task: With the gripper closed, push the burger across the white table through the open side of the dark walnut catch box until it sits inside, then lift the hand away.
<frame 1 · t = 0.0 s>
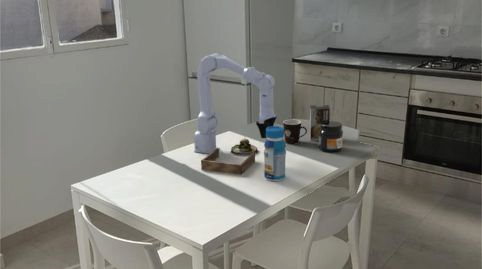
hand: (266, 135, 197), 10 cm above the table, tool pointing down, fingers open, 7 cm apart
coffee box: (319, 139, 222), on the table
supplement container: (330, 149, 208), on the table
catch box: (229, 164, 192), on the table
coffee mug: (293, 143, 217), on the table
beverage bottle: (274, 178, 178), on the table
burger: (244, 152, 208), on the table
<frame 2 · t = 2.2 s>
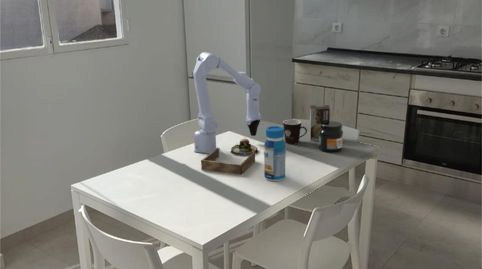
hand: (253, 135, 217), 4 cm above the table, tool pointing down, fingers closed
nothing on the table moved.
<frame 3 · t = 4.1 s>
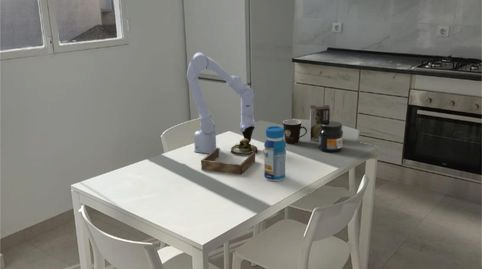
hand: (247, 142, 210), 3 cm above the table, tool pointing down, fingers closed
burger: (244, 152, 207), on the table, touching gripper
everything else where it was.
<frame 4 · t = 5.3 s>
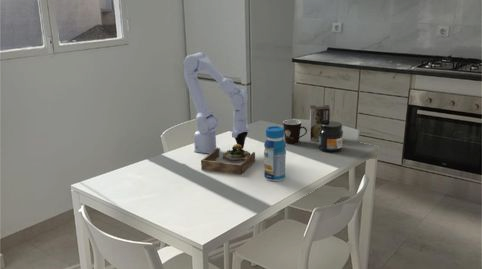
hand: (240, 148, 203), 3 cm above the table, tool pointing down, fingers closed
burger: (237, 158, 200), on the table, touching gripper
everything else where it was.
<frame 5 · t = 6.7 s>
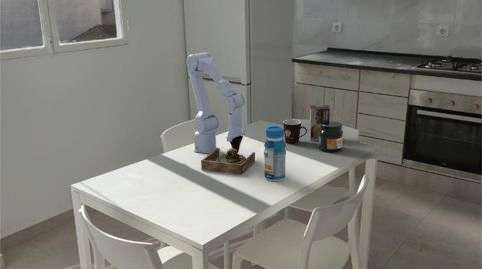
hand: (235, 152, 198), 3 cm above the table, tool pointing down, fingers closed
burger: (232, 162, 195), on the table, touching gripper
everything else where it was.
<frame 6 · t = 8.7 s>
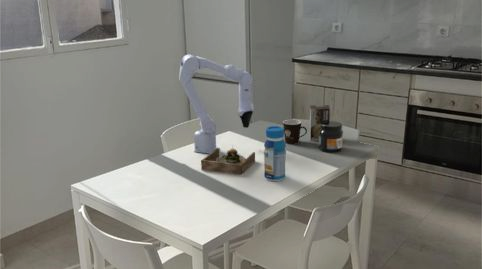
hand: (245, 127, 211), 9 cm above the table, tool pointing down, fingers closed
burger: (232, 163, 195), on the table
everything else where it was.
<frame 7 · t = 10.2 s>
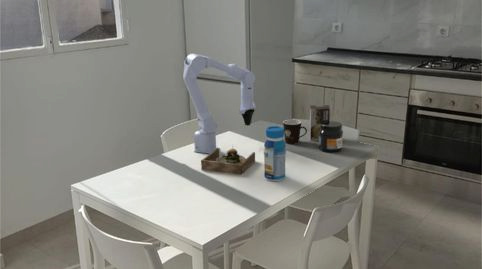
hand: (247, 125, 214), 9 cm above the table, tool pointing down, fingers closed
nothing on the table moved.
at the end: burger inside the target area on the catch box (3.0 cm from its centre), point -0.5 cm above the catch box's base; burger tilted 0° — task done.
